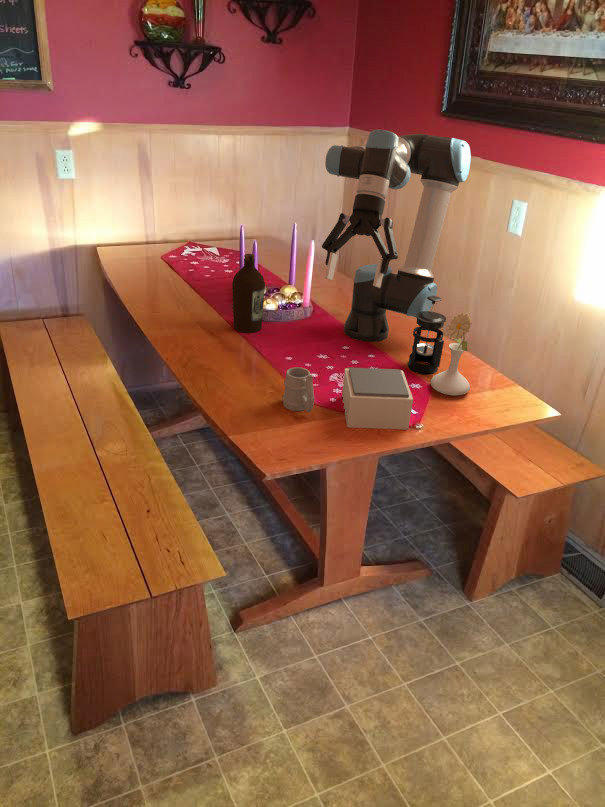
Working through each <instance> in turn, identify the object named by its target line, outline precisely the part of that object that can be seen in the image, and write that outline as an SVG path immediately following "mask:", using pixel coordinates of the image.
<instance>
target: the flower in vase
mask: <svg viewBox="0 0 605 807" xmlns="http://www.w3.org/2000/svg"><path fill="white" fill-rule="evenodd" d="M471 320H472V319H471V317H470V315H469V313H464V312H461V313H457V315H454V316H453V317H452V319H451V320H450V322H449V324H448V326H447V327H448V329H447V335H448V336H449V339H450V340H454V341H456V342H452V343H449V344H448V348H449V350H450V356H451V357H450V363H449V366H448V368H447V369H446V370H444V371H441V372H439V373H437V374H435V375H433V377H431V379H430V380H429V381H430V385H431V387H432V388H433V390H435V391H436V392H439V393H440V394H444V395H448V396H462V395H465V394H467V393H468V392H469V391H470V389H471V385H470V382H469V381H468V380H467V378H466V377H465V376H464V375H463V374H461V373H460V372H459V362H460V359H461V357H462V355H463V353H464V352H468V344H469V343H468V341H467V340H466V339H465V338H466V335H467V333H469V332H470V329H471V326H472V321H471Z"/></svg>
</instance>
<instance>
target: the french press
mask: <svg viewBox="0 0 605 807" xmlns="http://www.w3.org/2000/svg"><path fill="white" fill-rule="evenodd" d="M427 299H428V300H430V301H432V304H433V305H432V307H431V311H430V310H429V311H423V312H419V313H417V314H416V317H415V318H416V324H417V327H415V328H413V333H412V336H413V344H412V346H411V353H410V354H409V356H408V362H407V369H408V370H409V371H411V372H413V373H416V374H419V375H424V376H425V375H434V374H436V373H437V372H438V371H439V368H440V365H441V361H442V360H441V359H442V356H443V355H442V354H443V349H444V343H445V341H444V332H443V331H442V330H441V329H442V328H443V327H444V326H445V323H446V321H447V317H446V316H445V315H444V314H442V313H439V312H436V311H434V307H435V304H436V302H441V301H442V298H441V297H440V296H437V295H436V296H428V297H427ZM422 331H427V334H426V337H425V336H422ZM430 332H432V333H433V332H434V333H436V337H429V334H430ZM421 341H422V342H421ZM424 342H425V343H424ZM431 343H434V344H431Z"/></svg>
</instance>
